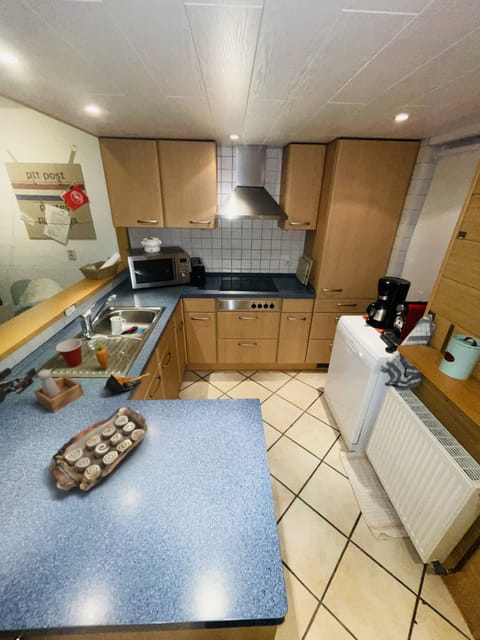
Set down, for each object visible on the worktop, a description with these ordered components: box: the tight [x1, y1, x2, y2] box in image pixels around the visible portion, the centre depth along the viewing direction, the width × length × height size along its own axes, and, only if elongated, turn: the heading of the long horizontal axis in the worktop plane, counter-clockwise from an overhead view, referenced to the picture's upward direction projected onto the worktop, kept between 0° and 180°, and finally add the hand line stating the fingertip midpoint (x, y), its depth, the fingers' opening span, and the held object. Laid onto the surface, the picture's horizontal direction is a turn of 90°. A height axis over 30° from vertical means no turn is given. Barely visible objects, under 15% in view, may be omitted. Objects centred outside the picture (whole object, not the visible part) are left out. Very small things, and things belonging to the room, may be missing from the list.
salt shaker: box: [37, 369, 60, 399], centre depth 102 cm, size 6×6×13 cm
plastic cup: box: [55, 338, 83, 368], centre depth 125 cm, size 11×11×12 cm
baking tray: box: [49, 406, 149, 492], centre depth 83 cm, size 30×22×5 cm
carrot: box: [93, 341, 109, 370], centre depth 121 cm, size 5×5×15 cm
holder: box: [33, 375, 85, 413], centre depth 105 cm, size 12×12×6 cm
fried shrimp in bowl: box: [104, 372, 151, 395], centre depth 111 cm, size 9×11×18 cm
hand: (22, 370), depth 86 cm, fingers open, 8 cm apart
